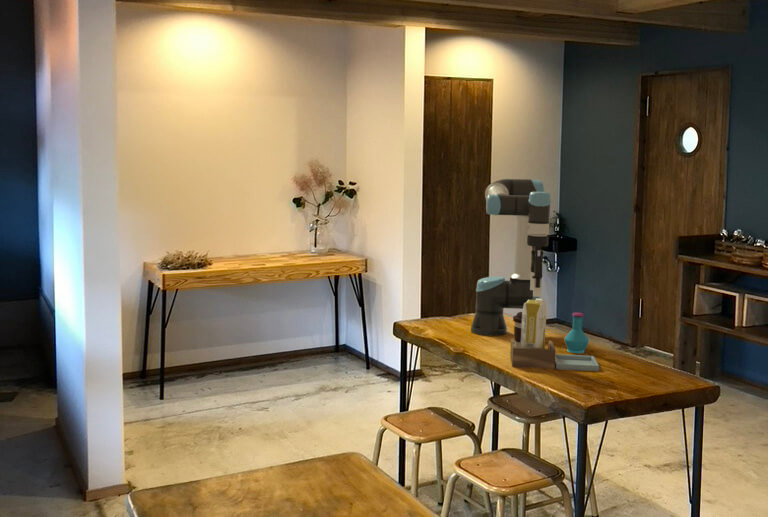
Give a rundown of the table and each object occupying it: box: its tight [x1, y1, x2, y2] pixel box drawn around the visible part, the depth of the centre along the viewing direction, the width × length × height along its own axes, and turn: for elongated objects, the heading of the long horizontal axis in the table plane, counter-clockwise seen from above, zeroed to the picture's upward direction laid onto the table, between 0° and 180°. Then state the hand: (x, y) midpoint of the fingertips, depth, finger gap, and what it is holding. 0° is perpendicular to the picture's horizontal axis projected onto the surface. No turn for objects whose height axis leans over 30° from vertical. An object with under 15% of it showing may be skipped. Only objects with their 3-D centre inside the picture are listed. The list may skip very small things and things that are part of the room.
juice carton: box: [521, 298, 547, 349], centre depth 314 cm, size 9×8×24 cm
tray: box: [555, 353, 600, 372], centre depth 313 cm, size 14×15×2 cm
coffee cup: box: [512, 311, 522, 348], centre depth 331 cm, size 10×10×15 cm
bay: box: [509, 338, 557, 370], centre depth 315 cm, size 14×15×7 cm
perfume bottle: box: [563, 311, 589, 354], centre depth 333 cm, size 9×9×15 cm
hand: (535, 293), depth 311 cm, fingers open, 13 cm apart
